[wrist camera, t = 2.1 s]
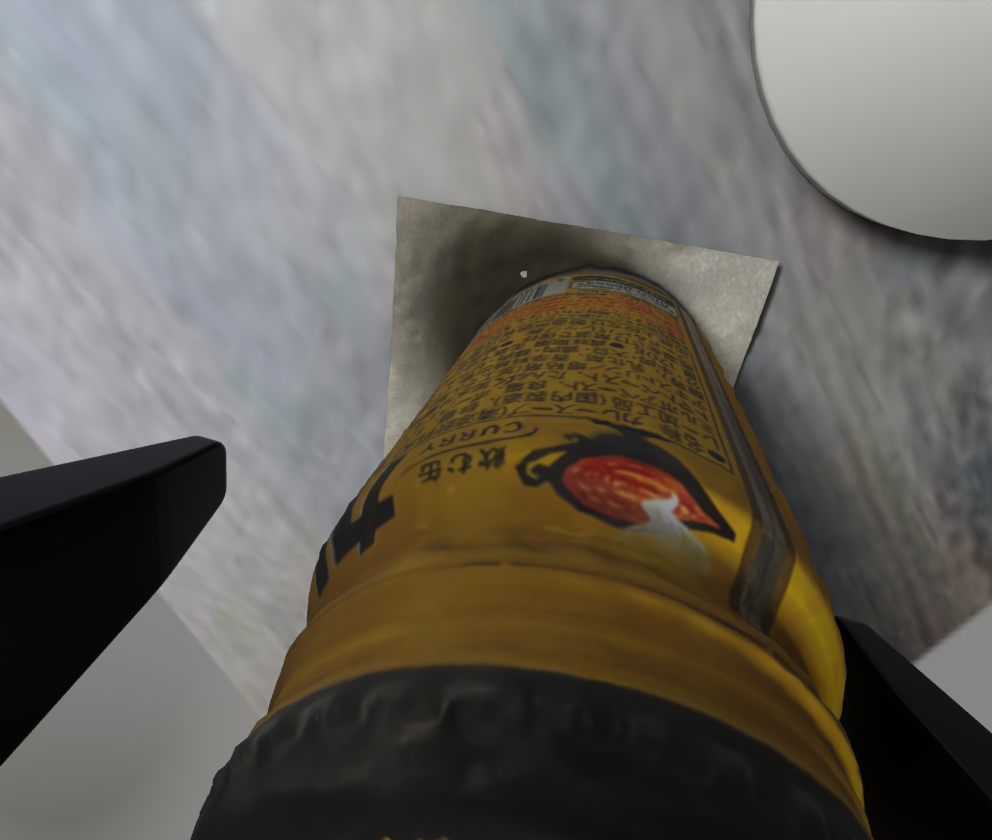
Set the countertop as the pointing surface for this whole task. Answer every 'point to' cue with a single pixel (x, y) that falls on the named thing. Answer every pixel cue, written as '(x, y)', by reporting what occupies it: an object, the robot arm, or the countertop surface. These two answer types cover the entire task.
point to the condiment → (558, 572)
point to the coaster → (884, 106)
